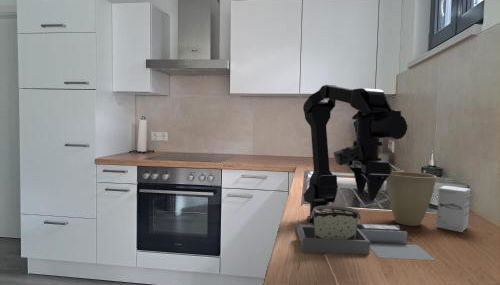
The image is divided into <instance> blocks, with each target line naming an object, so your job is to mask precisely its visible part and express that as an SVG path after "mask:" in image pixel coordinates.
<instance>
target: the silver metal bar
mask: <svg viewBox="0 0 500 285" xmlns="http://www.w3.org/2000/svg"><path fill="white" fill-rule="evenodd" d="M386 225H387V224H378V225H362V230H384V231H401V229H400V228H399V229H398V228H397V227H396V226H386Z"/></svg>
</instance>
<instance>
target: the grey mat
mask: <svg viewBox="0 0 500 285" xmlns="http://www.w3.org/2000/svg"><path fill="white" fill-rule="evenodd" d="M370 249H371V250H372V252H373V253H374V254H375V256H376V257H377V258H378V259H396V260H397V259H398V260H399V259H401V260H420V261H421V260H423V261H436V259H435V258H434V257H432V256H431V255H430V254H429V253H428V252H426V251H425V250H424V249H422V248H421V247H420V246H419V245H418V244H417V245H416V244H389V243H370Z"/></svg>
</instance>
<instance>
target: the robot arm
mask: <svg viewBox="0 0 500 285" xmlns="http://www.w3.org/2000/svg"><path fill="white" fill-rule="evenodd" d="M326 99H328V100H326ZM336 101H338V102H339V101H340V102H343V103H346V104H349V106H350V107H352V108H353V109H355V110H357V112H356V113H355V114H354V115H353V116H352V117H351V119H352V120H355V121H356V120H357V121H356V122H357V123H356V140H354V141H352V146H350V147H348V146H347V147H345V148H341V149H339V150H336V151H334V152H333V156H334V160H335V162H336V165H339V166H344V165H346V166H347V168H348V169H349V170H350V171H351V172H352V173H353V177H354V180H355V185H356V190H357V192H358V194H363V192H364V190H365V187H367V188H366V189H367V197H368V201H370V202H371V201H374V200H375V199H376V197H377V195H378V194H379V191H380V190H381V189H382V186H383V185H384V183H385V182H386V178H387V177H389V175H388V174H392V171H393V166H392V165H391V164H390V162H387V161H385V160H382V157H380V147H382V146H383V141H380V140H381V139H390V140H392V139H393V140H401V139H402V138H404V136H406V133H407V131H408V124H407V121H406V118H405V117H403V115H402V110H399V109H392V107H391V105H390V103H389V101H388V99H387V97H386V95H385V91H384V90H382V89H377V88H365V87H364V88H362V87H361V88H353V89H352V88H346V87H340V86H337V85H332V84H331V85H330V84H324V85H322V86H321V87H320V88H319V90H318V91H316V92H314V93H313V94H311V95H309V97H308V98H307V99H306V101H305V102H304V104H303V106H302V108H303V114H304V120H305V121H306V123H307V124H308V125H309V127H310V134H311V135H310V136H311V148H312V149H311V151H312V163H313V172H312V174H311V175H310V178H309V186H308V188H307V189H306V191H305V192H304V193H303V201H304V202H307V203H309V215H307V220H308V222H309V223H312V224H314V219H313V216H312V219H311V214H312V211H313V209H314V208H315V207H318V206H326V205H329V203H331V204H332V203H335V201H336V197H337V194H338V189H339V187H338V177H337V175H336V174H333V173H332V171H331V169H330V160H329V147H328V145H329V142H328V134H327V133H328V132H327V125H328V123H329V121H330V119H331V112H332V111H333V109H334V108H335V107H336Z"/></svg>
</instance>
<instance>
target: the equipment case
mask: <svg viewBox="0 0 500 285" xmlns="http://www.w3.org/2000/svg"><path fill="white" fill-rule="evenodd" d="M295 229H296V233H297V237H298V241H299V244H300V249H301V252H302V253H303V254H319V255H326V254H328V253H330V254H348V255H351V254H352V255H370V249H371V248H370V241H369V240H368V239H367V238H366V236H365V235H364V234H363V233H362V232H361V231H360V229H359V228H357V231H356V238H355V240H344V239H321V238H315V234H314V224H295Z"/></svg>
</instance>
